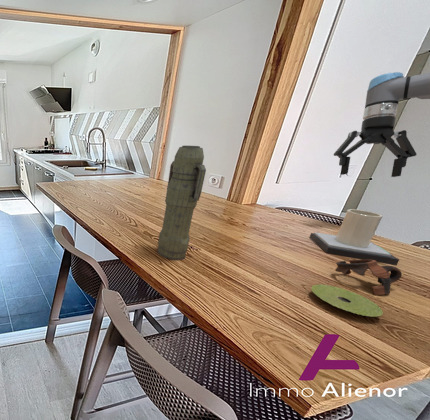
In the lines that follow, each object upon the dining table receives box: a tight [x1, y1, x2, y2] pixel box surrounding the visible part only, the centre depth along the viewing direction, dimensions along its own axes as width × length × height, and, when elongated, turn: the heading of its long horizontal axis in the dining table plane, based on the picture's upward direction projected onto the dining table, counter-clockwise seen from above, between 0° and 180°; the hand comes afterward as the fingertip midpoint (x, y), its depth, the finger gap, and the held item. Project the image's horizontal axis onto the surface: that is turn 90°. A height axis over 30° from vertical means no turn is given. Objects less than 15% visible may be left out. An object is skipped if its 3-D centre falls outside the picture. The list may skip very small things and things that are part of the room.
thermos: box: [156, 145, 207, 261], centre depth 76 cm, size 9×12×35 cm
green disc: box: [310, 283, 384, 318], centre depth 58 cm, size 11×11×2 cm
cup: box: [336, 208, 383, 248], centre depth 83 cm, size 7×7×11 cm
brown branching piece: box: [334, 259, 403, 296], centre depth 66 cm, size 12×10×8 cm
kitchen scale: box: [309, 231, 400, 266], centre depth 85 cm, size 16×14×3 cm
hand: (369, 175), depth 91 cm, fingers open, 13 cm apart
